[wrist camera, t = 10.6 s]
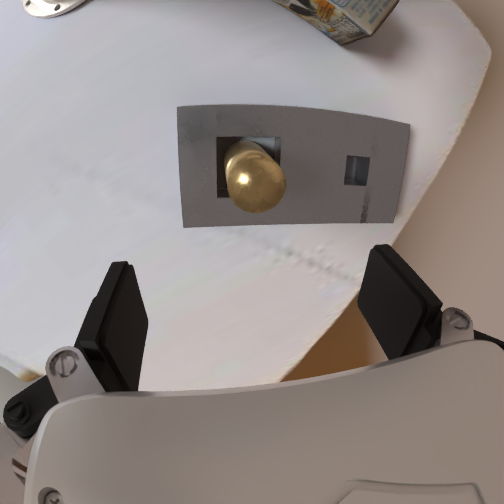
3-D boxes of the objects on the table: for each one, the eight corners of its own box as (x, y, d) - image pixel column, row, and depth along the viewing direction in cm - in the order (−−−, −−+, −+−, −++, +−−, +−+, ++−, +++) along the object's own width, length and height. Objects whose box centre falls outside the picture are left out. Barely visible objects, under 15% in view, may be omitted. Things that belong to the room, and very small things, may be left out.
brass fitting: (223, 140, 27) (227, 157, 20) (266, 140, 28) (288, 157, 20) (224, 181, 29) (228, 213, 22) (265, 180, 30) (284, 212, 22)
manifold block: (180, 106, 25) (176, 106, 22) (395, 121, 28) (410, 124, 25) (185, 216, 31) (183, 227, 28) (381, 213, 34) (393, 223, 31)
